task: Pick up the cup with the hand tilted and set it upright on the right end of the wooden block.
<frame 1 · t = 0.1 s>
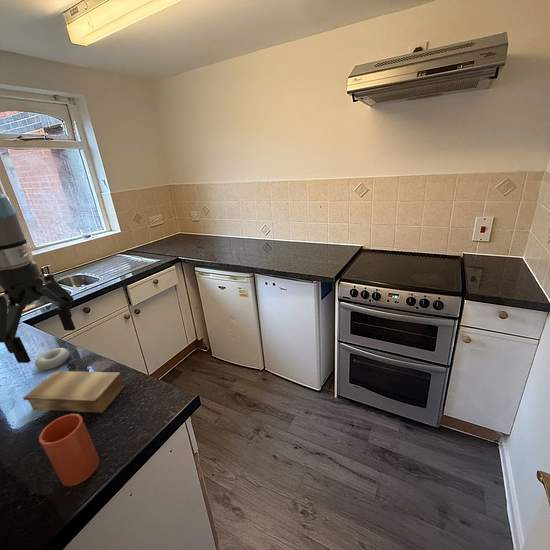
hand: (49, 344, 75), 21 cm above the countertop, tool pointing down, fingers open, 13 cm apart
cup: (80, 469, 65), on the countertop
wooden block: (80, 397, 86), on the countertop
donut: (54, 363, 104), on the countertop
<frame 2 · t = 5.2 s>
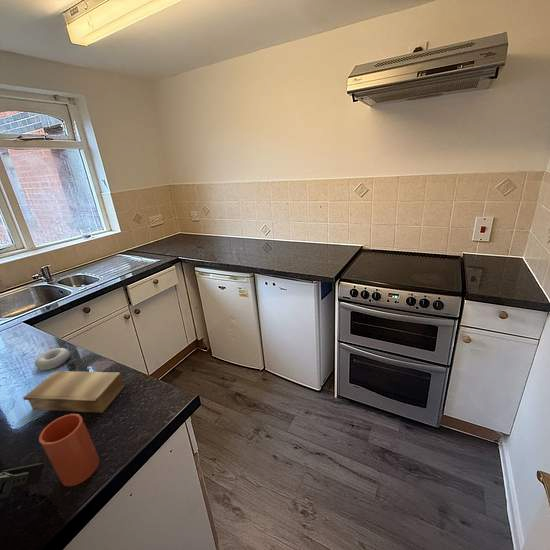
hand: (5, 469, 50), 15 cm above the countertop, tool tilted 45°, fingers open, 13 cm apart
nothing on the countertop moved.
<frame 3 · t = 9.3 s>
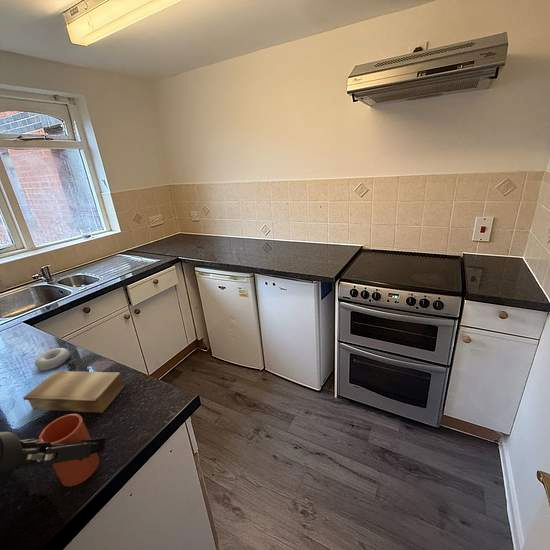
hand: (86, 443, 67), 4 cm above the countertop, tool tilted 45°, fingers closed on cup, 7 cm apart
cup: (80, 469, 65), on the countertop, touching gripper
everything else where it was.
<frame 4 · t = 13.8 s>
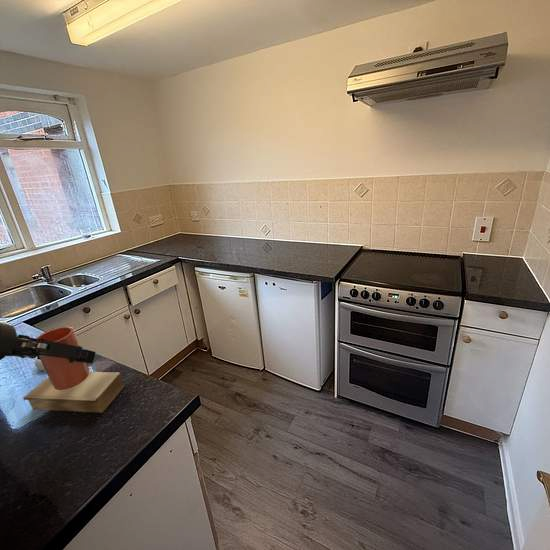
hand: (78, 357, 73), 18 cm above the countertop, tool tilted 45°, fingers closed on cup, 7 cm apart
cup: (71, 378, 71), point 15 cm above the countertop, touching gripper
everything else where it was.
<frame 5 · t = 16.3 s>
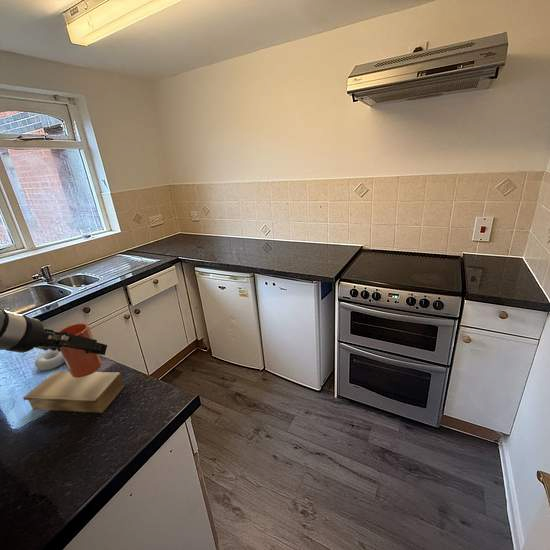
hand: (91, 349, 83), 14 cm above the countertop, tool tilted 45°, fingers closed on cup, 7 cm apart
cup: (87, 368, 81), point 10 cm above the countertop, touching gripper
everything else where it was.
when the fingers open (8 cm above the countertop, at t = 18.3 s): cup stays where it is, resting on wooden block.
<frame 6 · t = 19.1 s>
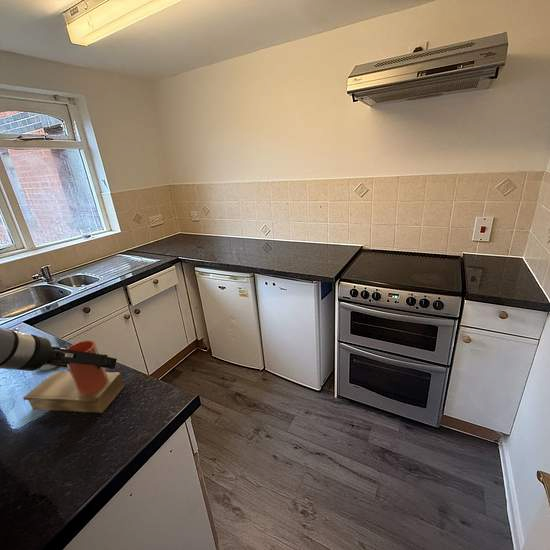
hand: (92, 363, 83), 10 cm above the countertop, tool tilted 45°, fingers open, 13 cm apart
cup: (93, 384, 83), point 5 cm above the countertop, touching wooden block
everything else where it was.
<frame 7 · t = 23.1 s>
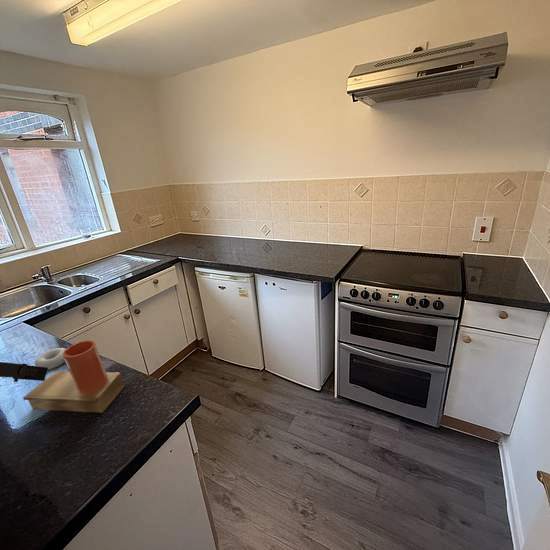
hand: (18, 373, 66), 20 cm above the countertop, tool tilted 45°, fingers open, 13 cm apart
nothing on the countertop moved.
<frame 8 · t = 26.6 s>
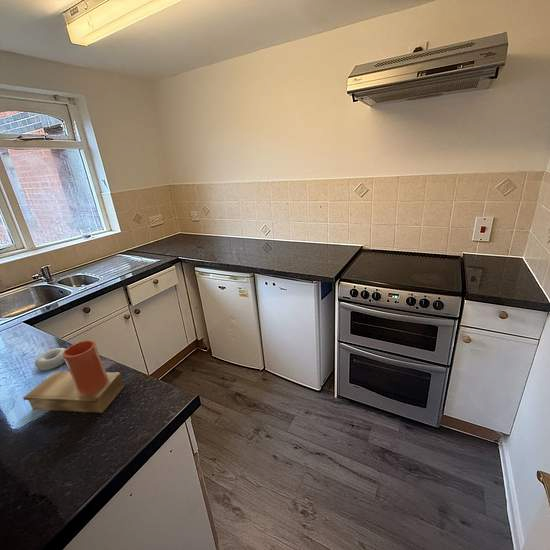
nothing on the countertop moved.
at the end: cup inside the target area on the wooden block (0.2 cm from its centre), point 5.0 cm above the wooden block's base; cup tilted 0°; the gripper is holding nothing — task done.
